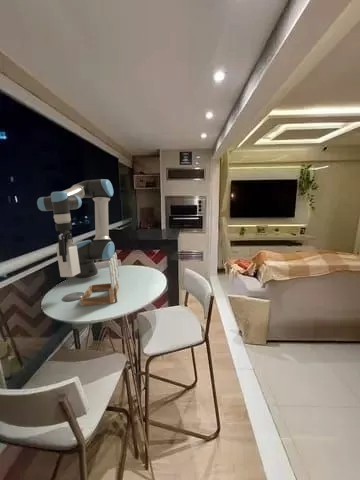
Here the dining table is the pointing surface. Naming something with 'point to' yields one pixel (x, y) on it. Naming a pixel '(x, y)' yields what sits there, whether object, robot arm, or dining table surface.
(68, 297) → the disc
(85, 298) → the cold frame
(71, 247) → the milk carton
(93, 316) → the dining table surface
